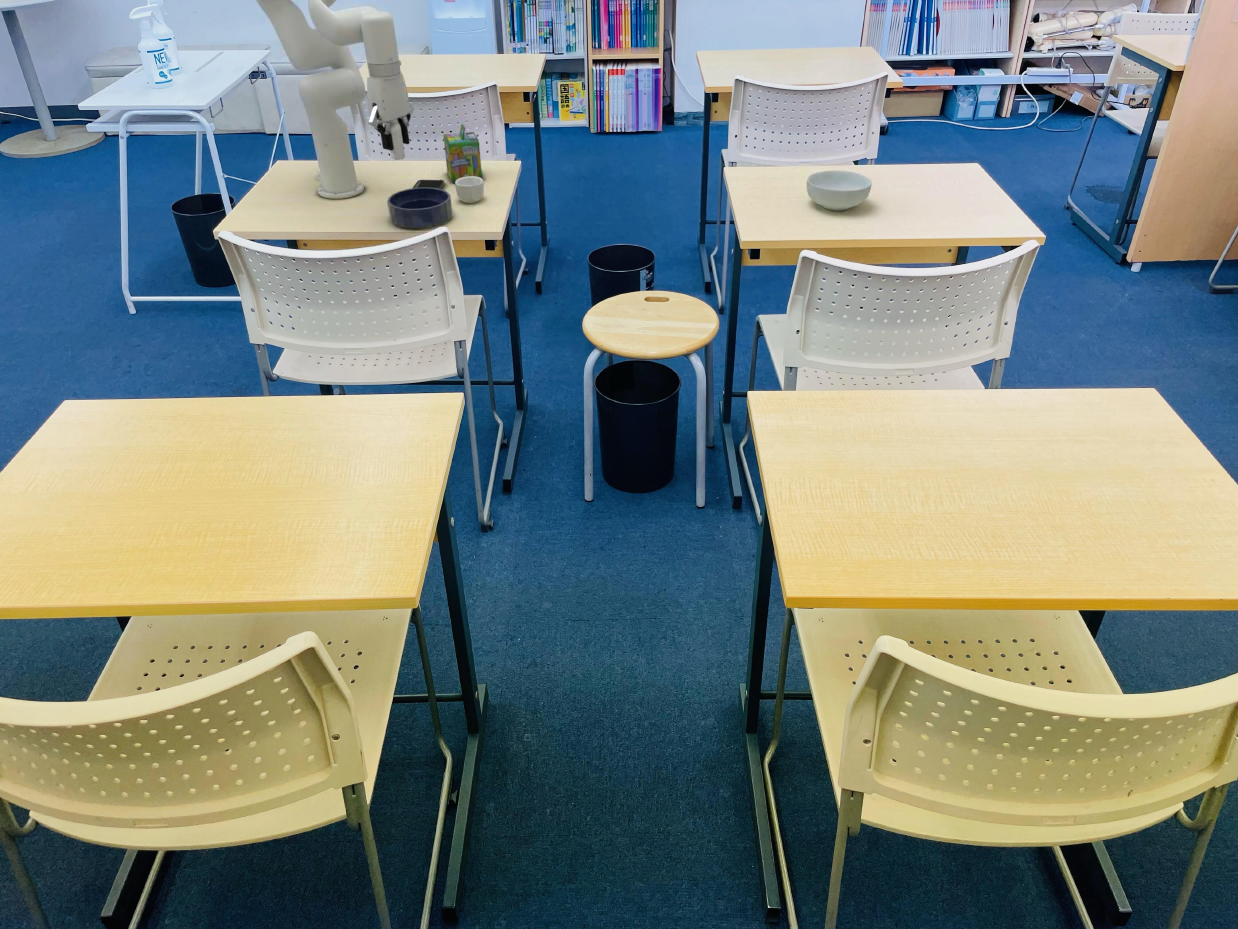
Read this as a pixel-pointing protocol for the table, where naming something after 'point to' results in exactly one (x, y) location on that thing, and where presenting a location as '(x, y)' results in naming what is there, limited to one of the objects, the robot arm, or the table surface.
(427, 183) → the phone
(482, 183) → the teacup
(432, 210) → the bowl
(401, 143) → the eye dropper bottle
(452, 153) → the chalk box
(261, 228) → the table surface
